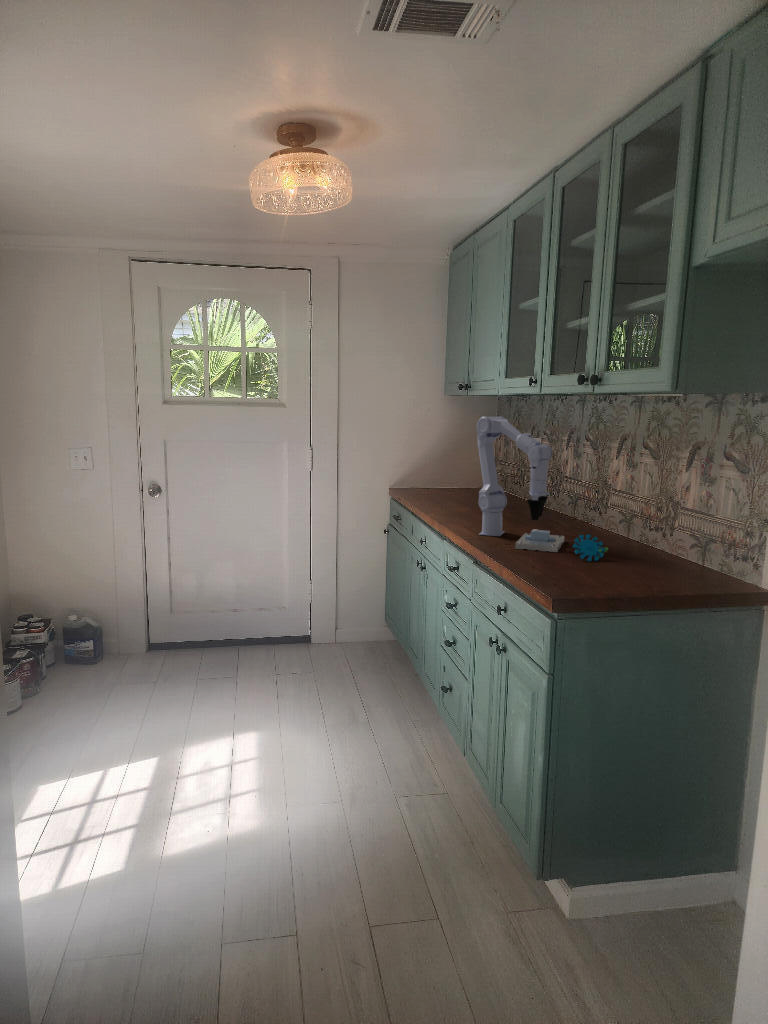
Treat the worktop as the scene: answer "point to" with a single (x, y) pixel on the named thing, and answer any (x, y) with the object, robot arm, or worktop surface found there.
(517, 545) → the plate
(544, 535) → the servo
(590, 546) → the gear
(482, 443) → the robot arm
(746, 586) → the worktop surface
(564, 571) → the worktop surface
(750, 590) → the worktop surface
